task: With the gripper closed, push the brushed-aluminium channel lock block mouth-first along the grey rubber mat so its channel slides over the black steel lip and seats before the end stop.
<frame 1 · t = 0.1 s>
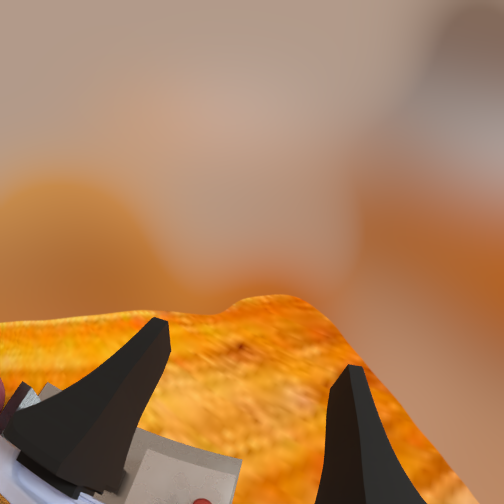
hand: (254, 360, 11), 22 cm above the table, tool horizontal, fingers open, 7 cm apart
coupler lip: (108, 477, 20), on the table
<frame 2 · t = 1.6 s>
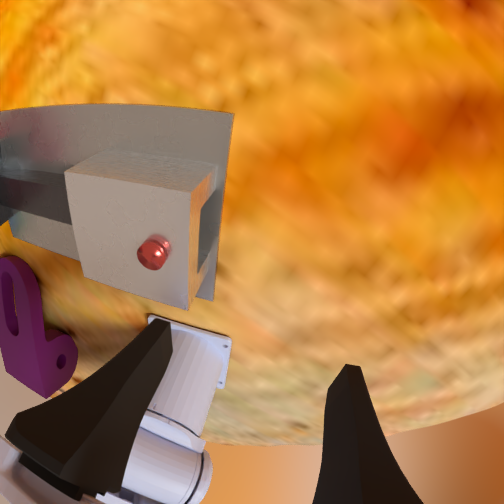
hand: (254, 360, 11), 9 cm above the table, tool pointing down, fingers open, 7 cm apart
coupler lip: (77, 191, 20), on the table
lock block: (156, 210, 19), resting on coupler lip
mounting bracket: (40, 304, 32), on the table
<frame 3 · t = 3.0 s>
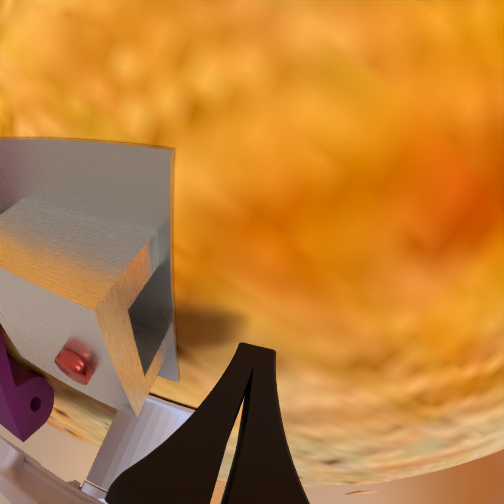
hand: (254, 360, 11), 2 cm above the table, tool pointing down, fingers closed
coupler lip: (9, 244, 14), on the table
lock block: (91, 281, 13), resting on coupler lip
mounting bracket: (10, 343, 26), on the table
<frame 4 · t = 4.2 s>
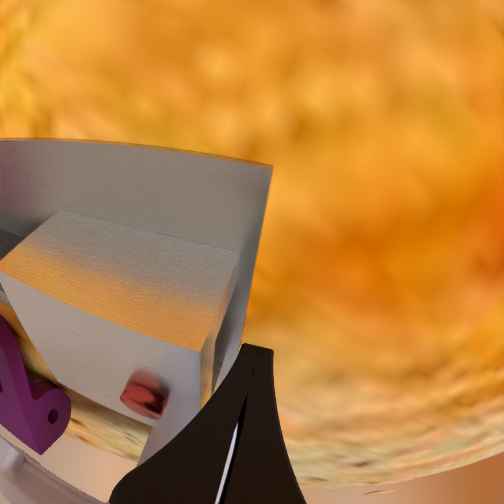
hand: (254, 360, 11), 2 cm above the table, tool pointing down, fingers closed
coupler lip: (38, 258, 13), on the table
lock block: (144, 301, 13), resting on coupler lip, touching gripper
mounting bracket: (24, 354, 26), on the table
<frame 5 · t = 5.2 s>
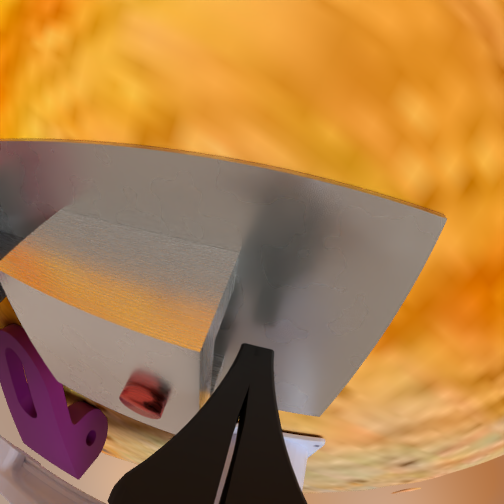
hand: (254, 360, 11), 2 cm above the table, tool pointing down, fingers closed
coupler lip: (116, 287, 13), on the table
lock block: (143, 301, 13), resting on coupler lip, touching gripper
mounting bracket: (57, 374, 25), on the table
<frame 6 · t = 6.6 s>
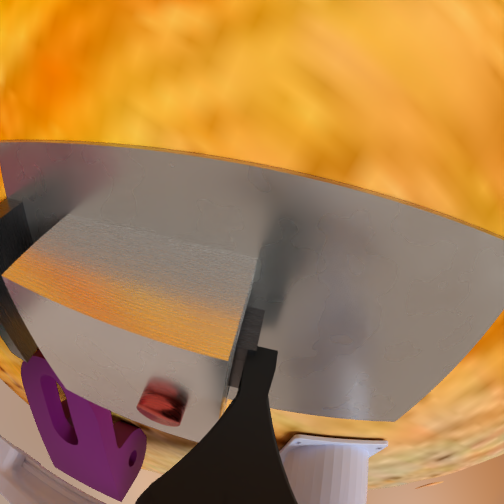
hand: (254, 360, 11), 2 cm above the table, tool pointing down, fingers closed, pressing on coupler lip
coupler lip: (226, 320, 13), on the table
lock block: (155, 306, 13), resting on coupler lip, touching gripper
mounting bracket: (93, 395, 25), on the table
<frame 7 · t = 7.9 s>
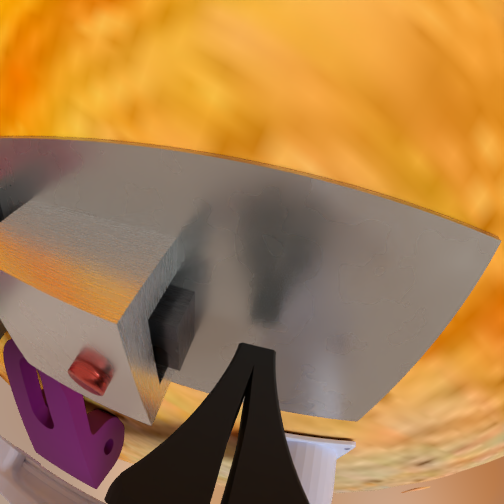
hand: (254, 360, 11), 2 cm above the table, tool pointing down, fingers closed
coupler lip: (165, 302, 13), on the table
lock block: (102, 286, 13), resting on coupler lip
mounting bracket: (72, 382, 25), on the table
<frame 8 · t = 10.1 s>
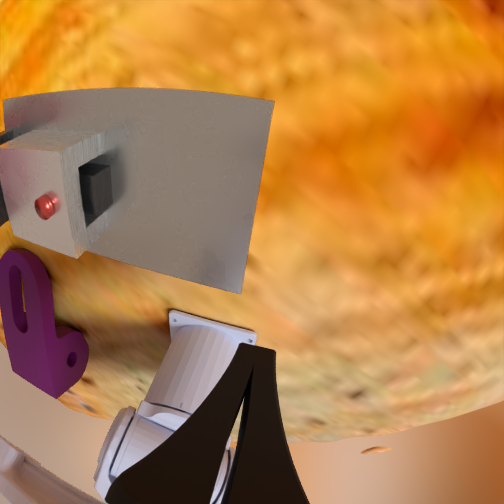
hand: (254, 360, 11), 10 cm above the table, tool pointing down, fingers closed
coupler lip: (98, 180, 20), on the table
lock block: (66, 177, 20), resting on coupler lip
mounting bracket: (49, 300, 32), on the table
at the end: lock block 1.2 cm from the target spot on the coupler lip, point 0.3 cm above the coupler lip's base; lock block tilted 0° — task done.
